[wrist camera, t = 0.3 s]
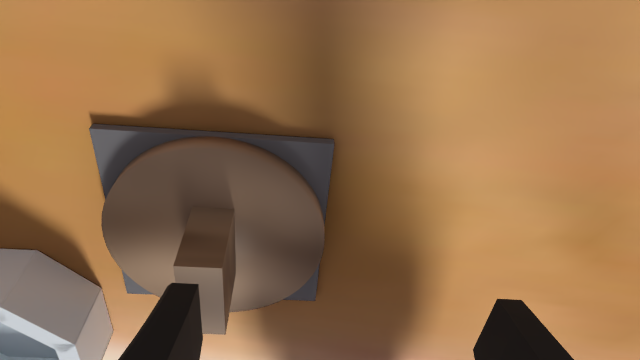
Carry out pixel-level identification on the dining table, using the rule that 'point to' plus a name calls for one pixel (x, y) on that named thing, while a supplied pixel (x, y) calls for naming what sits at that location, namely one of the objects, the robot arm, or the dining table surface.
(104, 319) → the bowl
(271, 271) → the lid
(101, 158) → the mat
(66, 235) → the dining table surface
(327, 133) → the dining table surface
